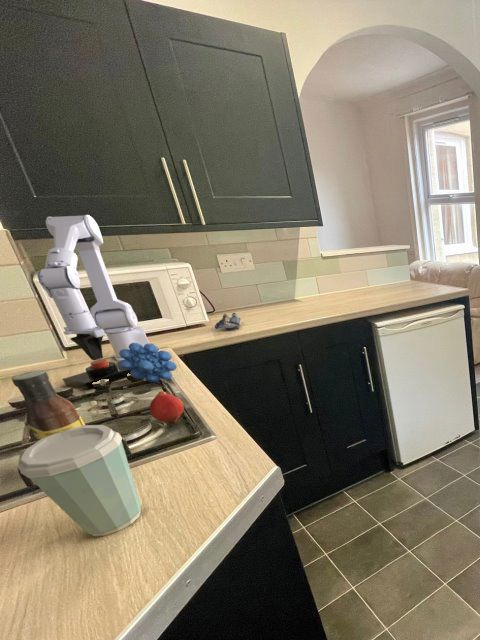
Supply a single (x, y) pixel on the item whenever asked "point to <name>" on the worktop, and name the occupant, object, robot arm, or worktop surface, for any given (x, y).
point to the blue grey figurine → (229, 322)
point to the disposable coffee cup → (85, 477)
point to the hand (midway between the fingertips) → (97, 359)
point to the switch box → (97, 376)
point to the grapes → (147, 362)
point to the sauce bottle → (45, 405)
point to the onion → (166, 407)
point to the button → (99, 364)
